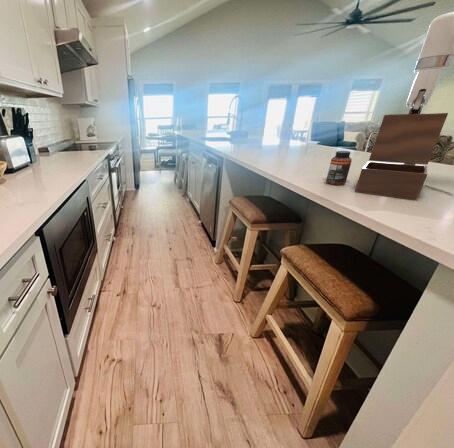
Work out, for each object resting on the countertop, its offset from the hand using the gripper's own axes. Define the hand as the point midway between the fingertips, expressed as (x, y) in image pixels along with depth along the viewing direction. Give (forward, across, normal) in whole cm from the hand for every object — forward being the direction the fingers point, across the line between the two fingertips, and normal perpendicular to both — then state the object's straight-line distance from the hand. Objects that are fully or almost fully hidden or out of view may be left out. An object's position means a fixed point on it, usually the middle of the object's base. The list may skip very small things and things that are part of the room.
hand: (408, 129), depth 81 cm
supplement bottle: (+18, +14, -14) cm, 27 cm away
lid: (+2, +7, 0) cm, 7 cm away
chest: (+18, +16, 0) cm, 23 cm away
